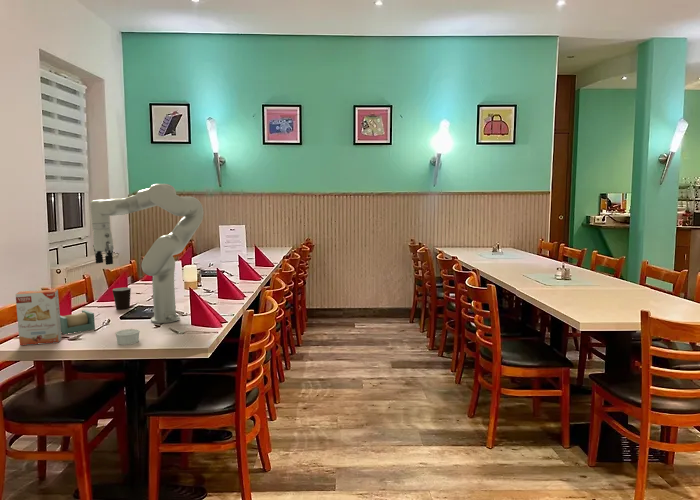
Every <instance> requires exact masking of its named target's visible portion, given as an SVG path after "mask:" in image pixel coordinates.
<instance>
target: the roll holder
mask: <svg viewBox="0 0 700 500" xmlns="http://www.w3.org/2000/svg"><path fill="white" fill-rule="evenodd" d="M81 313H86V315H87V319H88V324H85V325H80V326H75V327H69V328H68V327H67V318H66V317H64V315H60V323H61V332H62V333H64V334H67V335H69V334H68V333H72V334H75V333H74V332H77V333H81V332H80V331H82V332H86V331H90V330H91V331H92V330H95V329H96V324H95V313H94V312H92V311H89V310H86V309H83V310H81ZM62 333H61V334H62ZM64 334H63V335H64Z"/></svg>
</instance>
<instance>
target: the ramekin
mask: <svg viewBox="0 0 700 500" xmlns="http://www.w3.org/2000/svg"><path fill="white" fill-rule="evenodd" d="M114 334H115V337H116V343H117V345H120V346H126V345H127V346H128V345H133V344H136V343H138V342H139V340H140V330H139V329H136V328H131V329H129V328H128V329H121V330H117V331H116V332H115V333H114Z"/></svg>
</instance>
